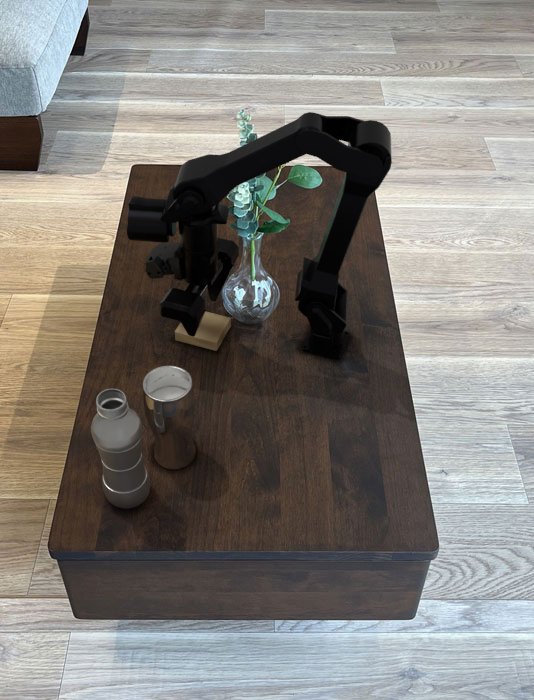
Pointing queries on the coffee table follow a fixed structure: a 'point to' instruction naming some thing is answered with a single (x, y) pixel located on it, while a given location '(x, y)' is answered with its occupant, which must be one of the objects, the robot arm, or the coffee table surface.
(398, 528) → the coffee table surface
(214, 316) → the wooden block
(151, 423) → the metal cup
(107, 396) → the plastic bottle
